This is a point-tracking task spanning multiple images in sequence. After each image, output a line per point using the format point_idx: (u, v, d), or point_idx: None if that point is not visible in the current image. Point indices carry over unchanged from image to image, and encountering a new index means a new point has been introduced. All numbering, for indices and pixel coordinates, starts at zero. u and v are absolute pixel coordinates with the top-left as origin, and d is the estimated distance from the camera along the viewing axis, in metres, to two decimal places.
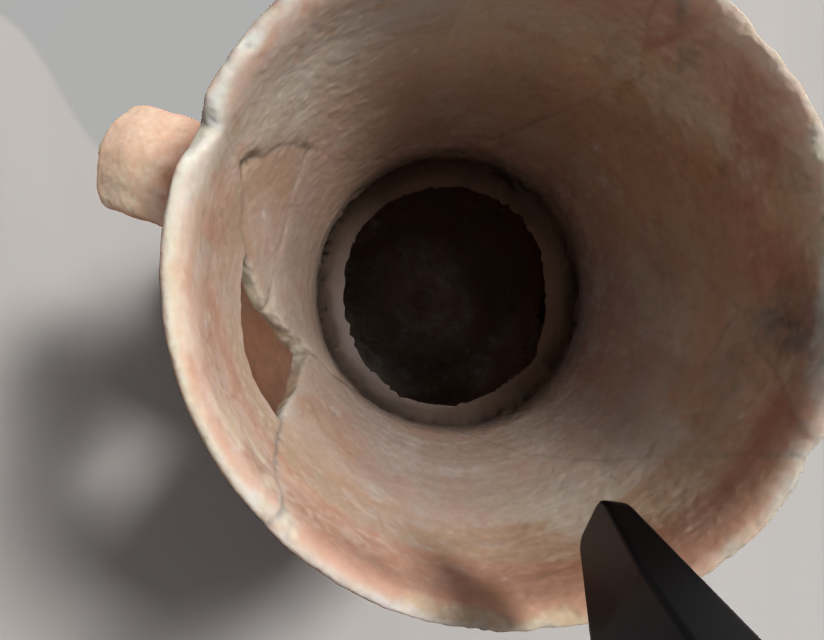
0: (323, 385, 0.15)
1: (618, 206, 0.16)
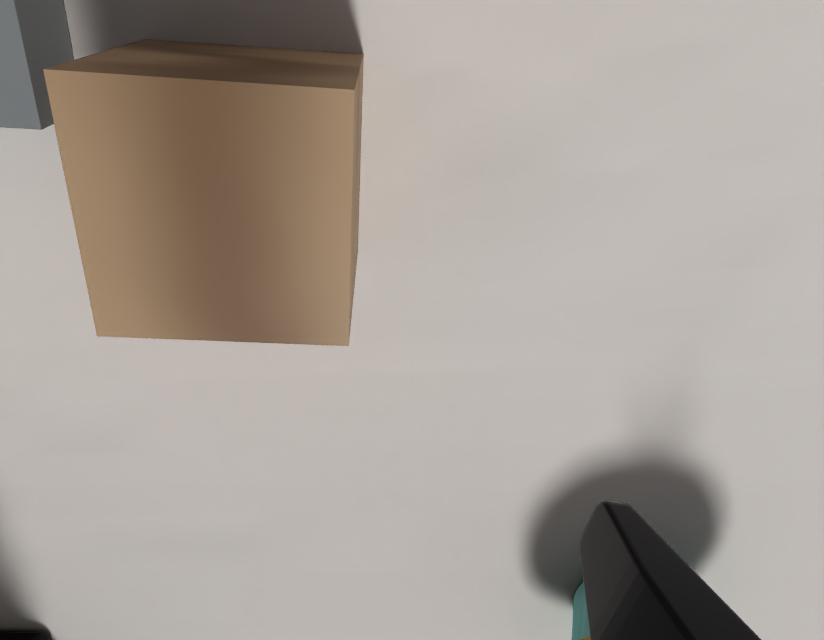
0: None
1: None
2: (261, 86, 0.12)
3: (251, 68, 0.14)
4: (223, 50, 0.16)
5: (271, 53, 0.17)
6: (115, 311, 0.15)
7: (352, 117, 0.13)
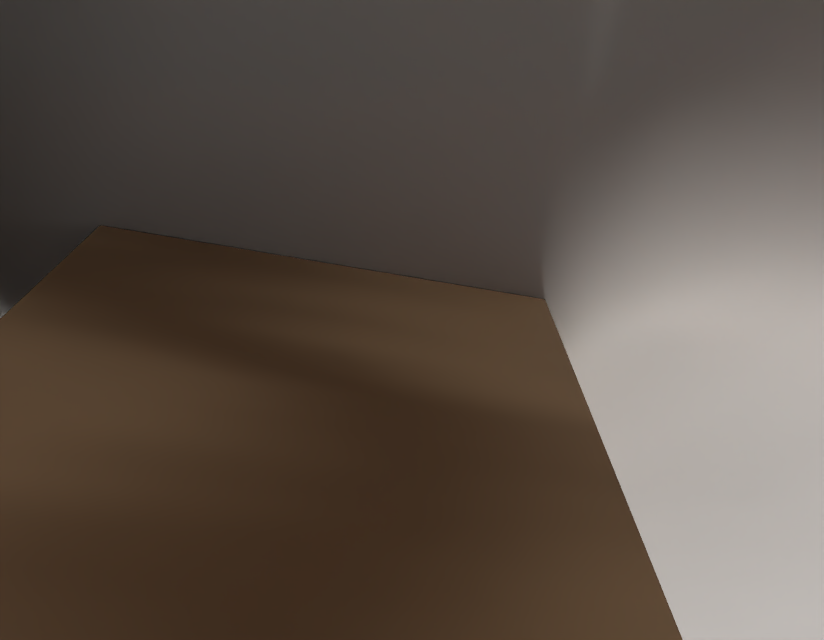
0: None
1: None
2: None
3: (360, 505, 0.05)
4: (267, 304, 0.07)
5: (373, 319, 0.07)
6: None
7: None
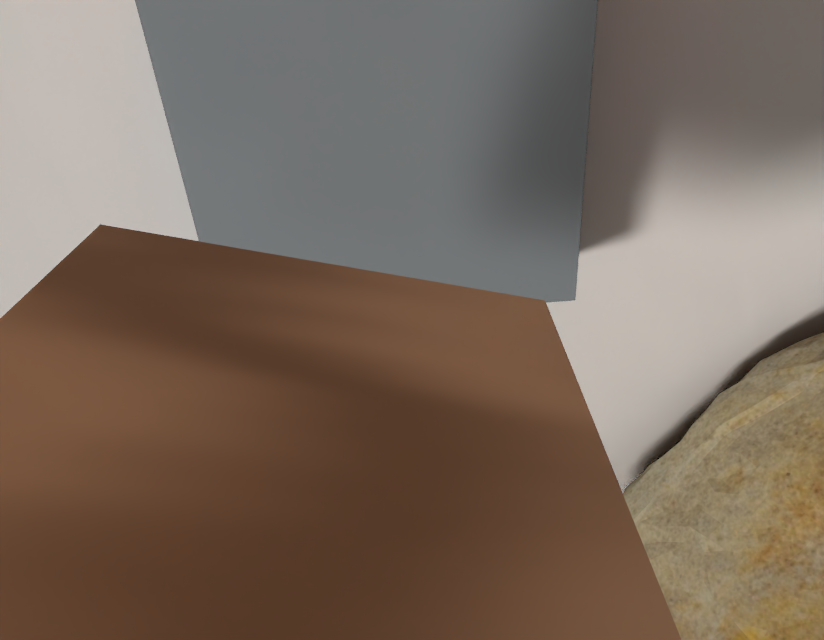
0: None
1: None
2: None
3: (361, 505, 0.05)
4: (268, 304, 0.07)
5: (373, 319, 0.07)
6: None
7: None
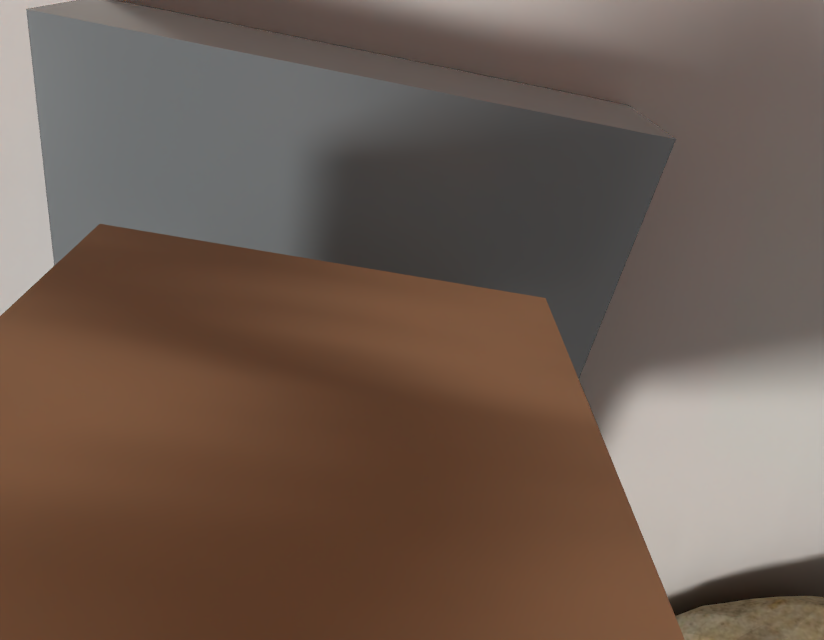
0: None
1: None
2: None
3: (361, 503, 0.05)
4: (268, 302, 0.07)
5: (373, 317, 0.07)
6: None
7: None
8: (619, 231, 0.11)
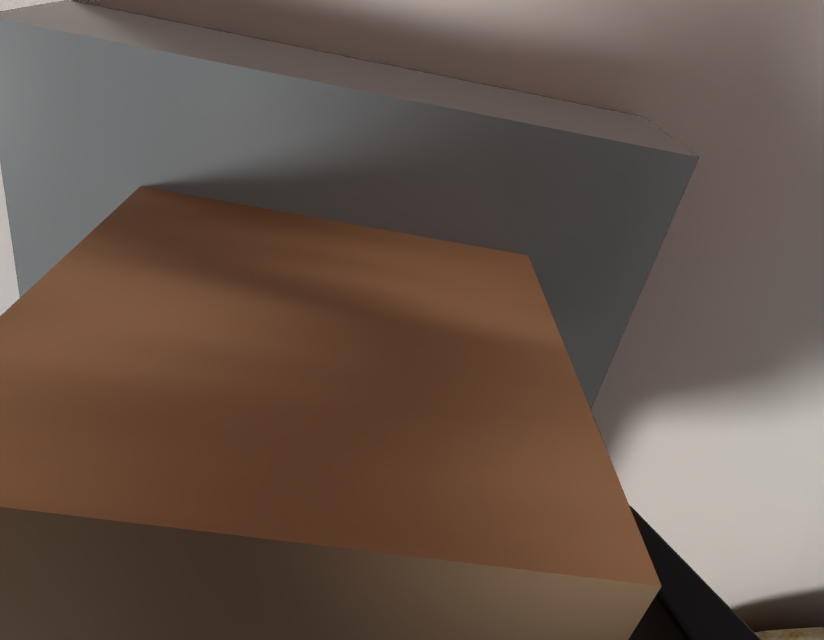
0: None
1: None
2: (426, 562, 0.05)
3: (369, 392, 0.06)
4: (287, 250, 0.08)
5: (378, 265, 0.09)
6: None
7: (631, 626, 0.05)
8: (635, 256, 0.10)
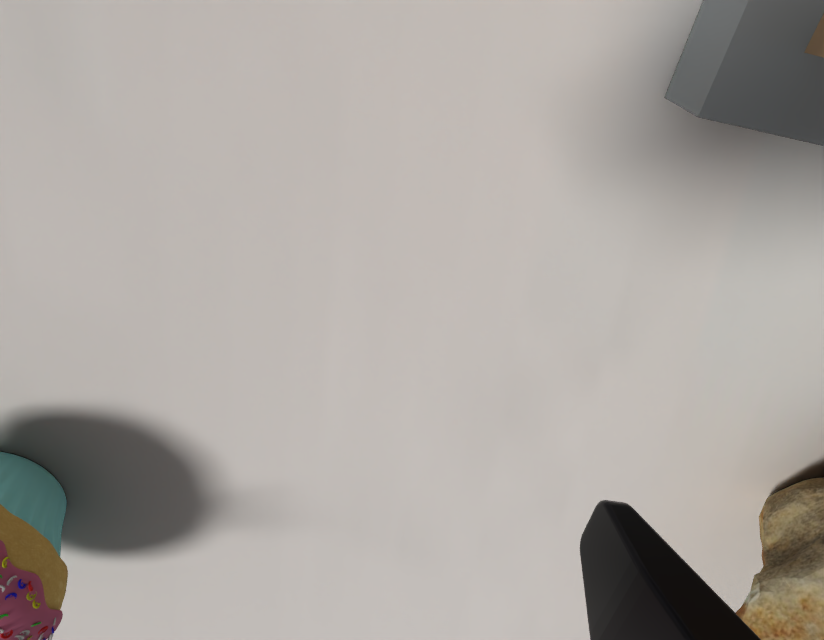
0: None
1: None
2: None
3: None
4: None
5: None
6: None
7: None
8: None
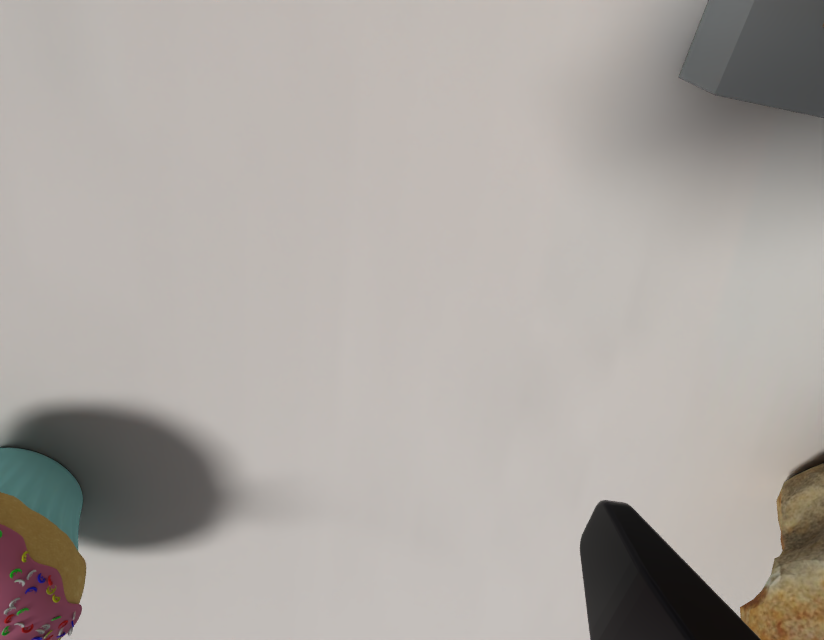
0: None
1: None
2: None
3: None
4: None
5: None
6: None
7: None
8: None
